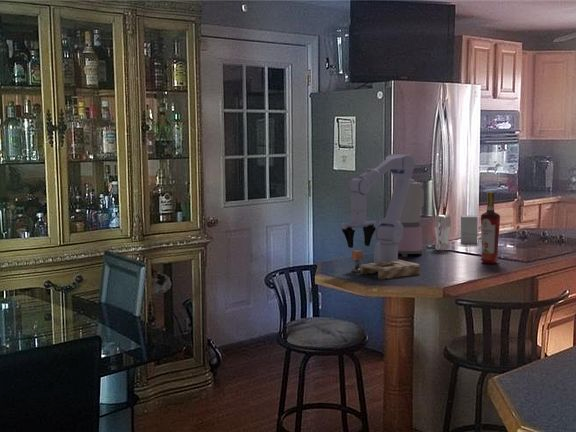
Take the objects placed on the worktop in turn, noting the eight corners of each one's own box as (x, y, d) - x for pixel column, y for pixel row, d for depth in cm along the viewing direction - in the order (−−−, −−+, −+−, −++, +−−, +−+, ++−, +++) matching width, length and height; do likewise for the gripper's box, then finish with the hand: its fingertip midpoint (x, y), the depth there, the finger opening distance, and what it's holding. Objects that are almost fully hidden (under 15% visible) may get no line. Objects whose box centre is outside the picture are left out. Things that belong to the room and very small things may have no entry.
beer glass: (452, 250, 310) (452, 216, 308) (436, 250, 310) (436, 216, 309) (448, 248, 317) (449, 214, 315) (433, 248, 317) (433, 215, 315)
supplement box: (476, 241, 335) (476, 215, 334) (477, 243, 328) (477, 216, 326) (460, 241, 337) (460, 214, 335) (461, 243, 329) (461, 216, 328)
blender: (407, 257, 293) (407, 180, 290) (387, 254, 303) (387, 179, 300) (433, 253, 302) (434, 179, 298) (413, 250, 312) (414, 177, 308)
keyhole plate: (380, 279, 251) (380, 269, 250) (360, 273, 261) (360, 264, 261) (419, 274, 259) (419, 264, 259) (399, 268, 270) (399, 259, 269)
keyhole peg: (349, 271, 267) (349, 250, 266) (358, 269, 269) (358, 249, 268) (355, 272, 264) (355, 252, 263) (364, 271, 266) (364, 251, 265)
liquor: (476, 263, 279) (477, 192, 276) (485, 260, 284) (486, 191, 281) (493, 265, 274) (495, 193, 271) (502, 262, 279) (503, 192, 276)
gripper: (348, 212, 256) (349, 249, 258) (381, 210, 263) (380, 246, 265) (338, 211, 262) (338, 247, 264) (369, 208, 270) (369, 243, 271)
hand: (358, 246), depth 265 cm, fingers open, 7 cm apart
